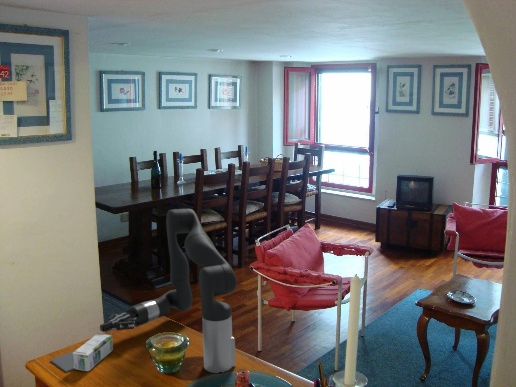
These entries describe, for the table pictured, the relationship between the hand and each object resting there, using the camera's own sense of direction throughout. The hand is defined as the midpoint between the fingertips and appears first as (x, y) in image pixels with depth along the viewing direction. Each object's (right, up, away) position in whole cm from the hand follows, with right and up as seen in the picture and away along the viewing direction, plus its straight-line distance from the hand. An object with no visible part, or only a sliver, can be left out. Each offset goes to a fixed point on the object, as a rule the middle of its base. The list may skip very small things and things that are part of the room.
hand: (101, 328), depth 181 cm
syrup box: (+2, -4, 0) cm, 5 cm away
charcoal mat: (-6, -9, -5) cm, 12 cm away
